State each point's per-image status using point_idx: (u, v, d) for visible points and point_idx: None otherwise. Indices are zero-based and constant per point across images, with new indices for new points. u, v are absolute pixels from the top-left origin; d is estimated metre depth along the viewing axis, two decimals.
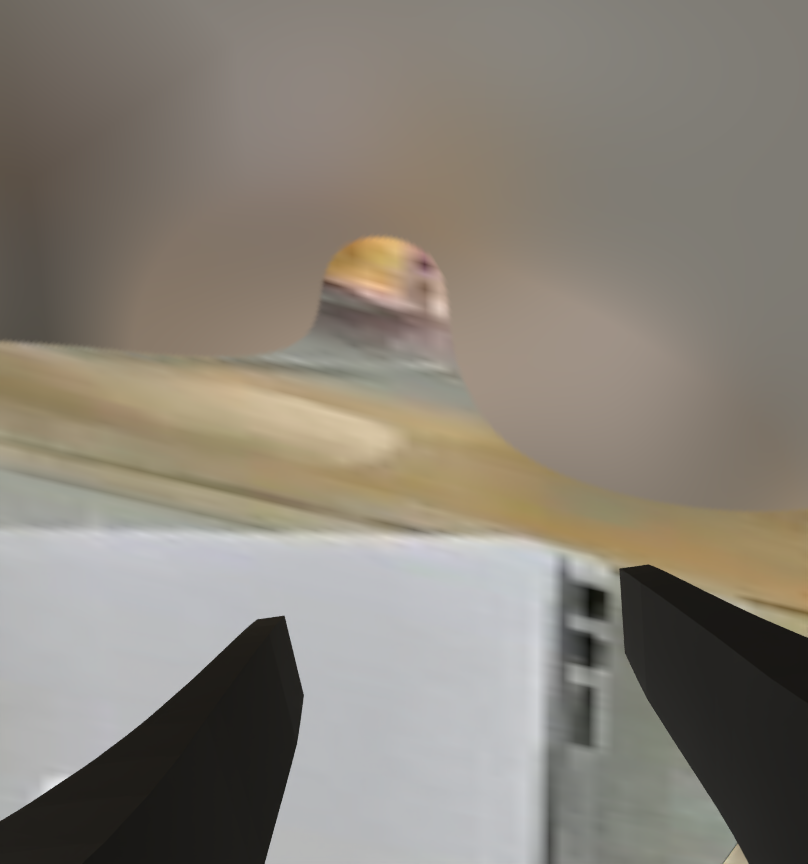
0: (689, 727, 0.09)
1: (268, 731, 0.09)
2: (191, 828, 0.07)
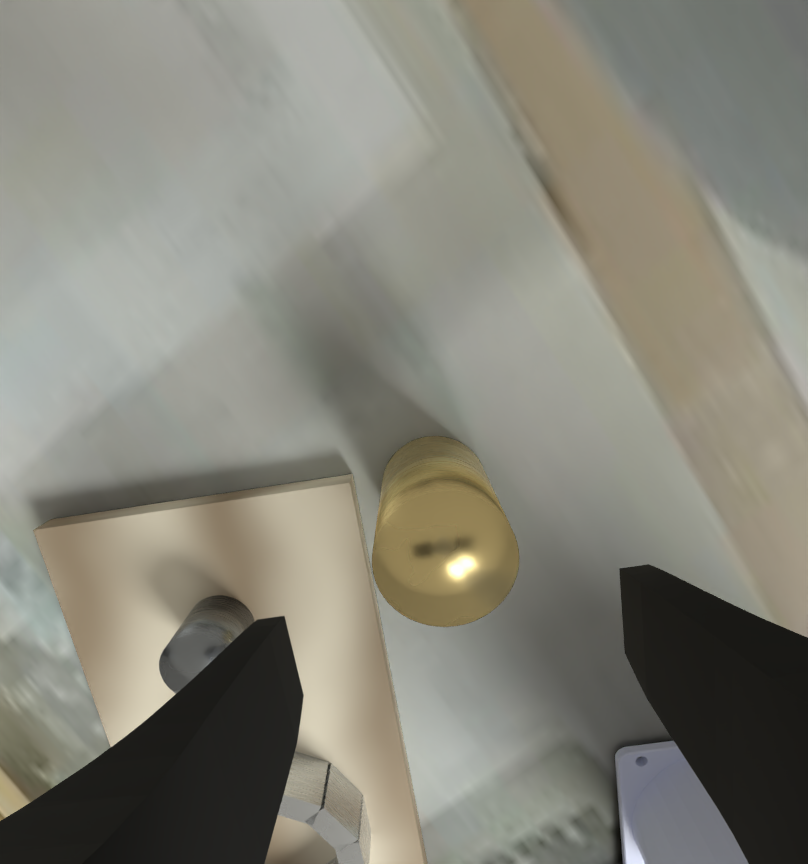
0: (688, 727, 0.09)
1: (268, 731, 0.09)
2: (191, 828, 0.07)
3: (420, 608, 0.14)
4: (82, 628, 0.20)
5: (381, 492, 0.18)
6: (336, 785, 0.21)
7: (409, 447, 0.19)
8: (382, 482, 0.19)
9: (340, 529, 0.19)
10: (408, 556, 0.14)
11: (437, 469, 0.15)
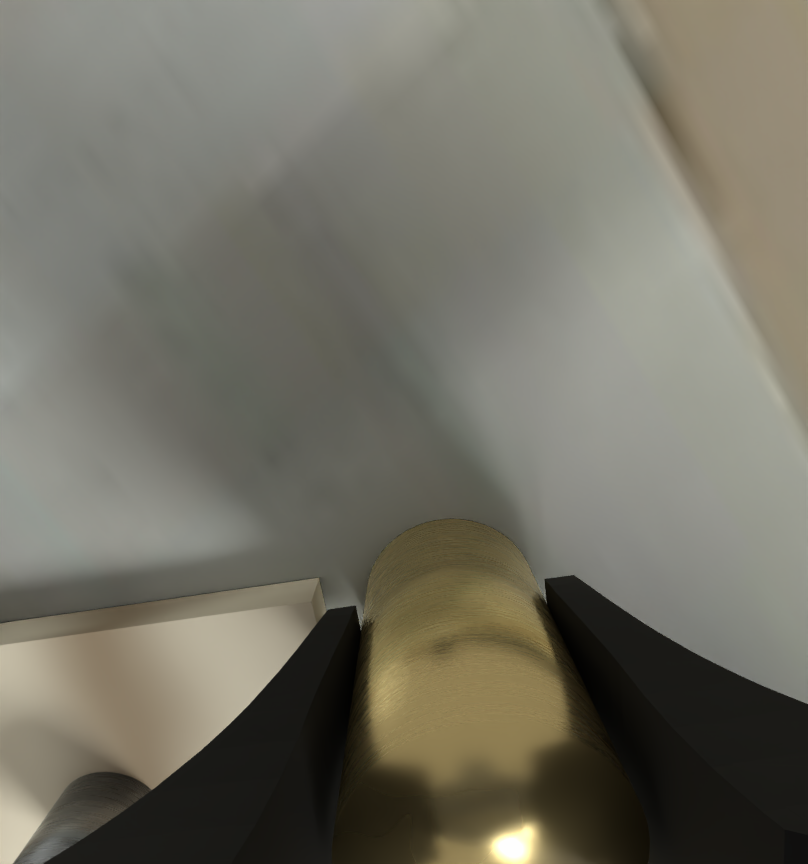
0: None
1: None
2: (308, 814, 0.07)
3: None
4: None
5: (362, 632, 0.10)
6: None
7: (410, 542, 0.11)
8: (365, 600, 0.11)
9: None
10: (409, 848, 0.06)
11: (465, 625, 0.08)
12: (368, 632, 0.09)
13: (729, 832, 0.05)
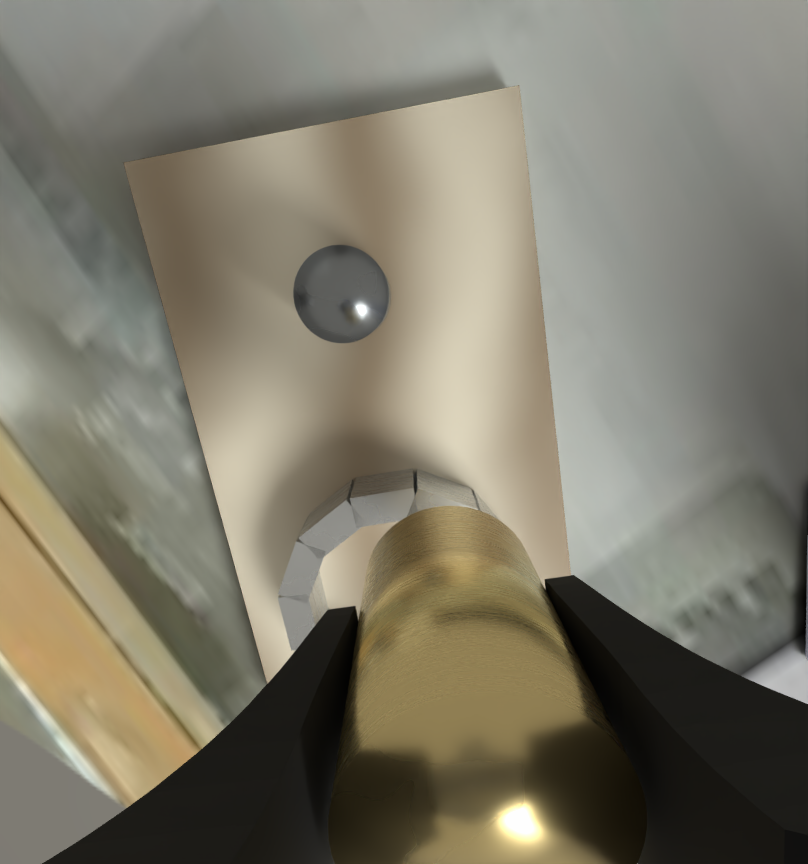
0: None
1: None
2: (308, 814, 0.07)
3: None
4: (179, 303, 0.17)
5: (363, 606, 0.10)
6: (484, 507, 0.17)
7: (417, 524, 0.11)
8: (366, 578, 0.11)
9: (503, 154, 0.15)
10: (408, 814, 0.06)
11: (476, 602, 0.08)
12: (372, 606, 0.09)
13: (729, 832, 0.05)
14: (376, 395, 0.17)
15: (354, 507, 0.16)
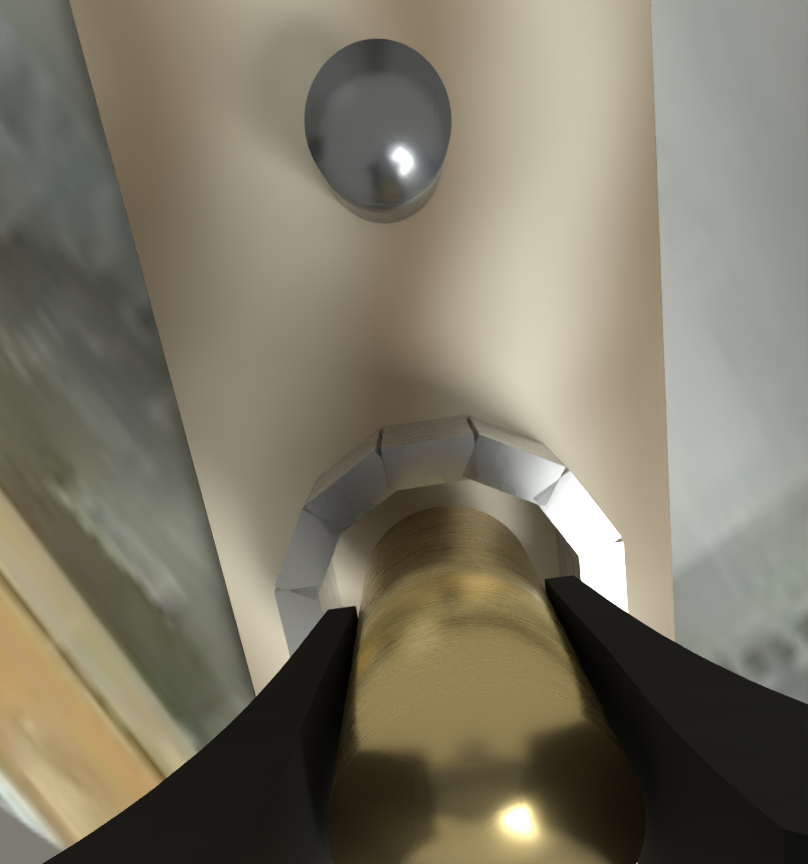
0: None
1: None
2: (308, 814, 0.07)
3: None
4: (139, 169, 0.12)
5: (363, 606, 0.10)
6: None
7: (417, 524, 0.11)
8: (366, 578, 0.11)
9: None
10: (407, 814, 0.06)
11: (476, 603, 0.08)
12: (371, 606, 0.09)
13: (729, 832, 0.05)
14: (416, 309, 0.12)
15: (386, 461, 0.11)
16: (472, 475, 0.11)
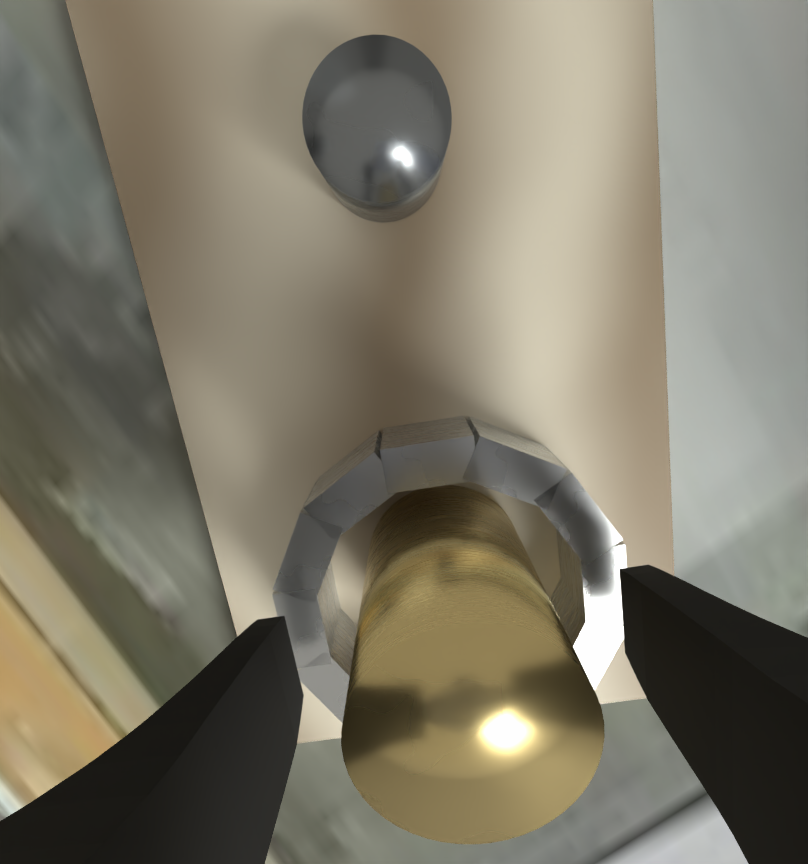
0: (689, 727, 0.09)
1: (268, 731, 0.09)
2: (191, 828, 0.07)
3: (417, 811, 0.08)
4: (135, 167, 0.11)
5: (368, 570, 0.11)
6: None
7: (416, 500, 0.13)
8: (371, 548, 0.13)
9: None
10: (407, 725, 0.08)
11: (466, 560, 0.09)
12: (376, 567, 0.11)
13: None
14: (415, 309, 0.12)
15: (386, 463, 0.11)
16: (472, 477, 0.11)
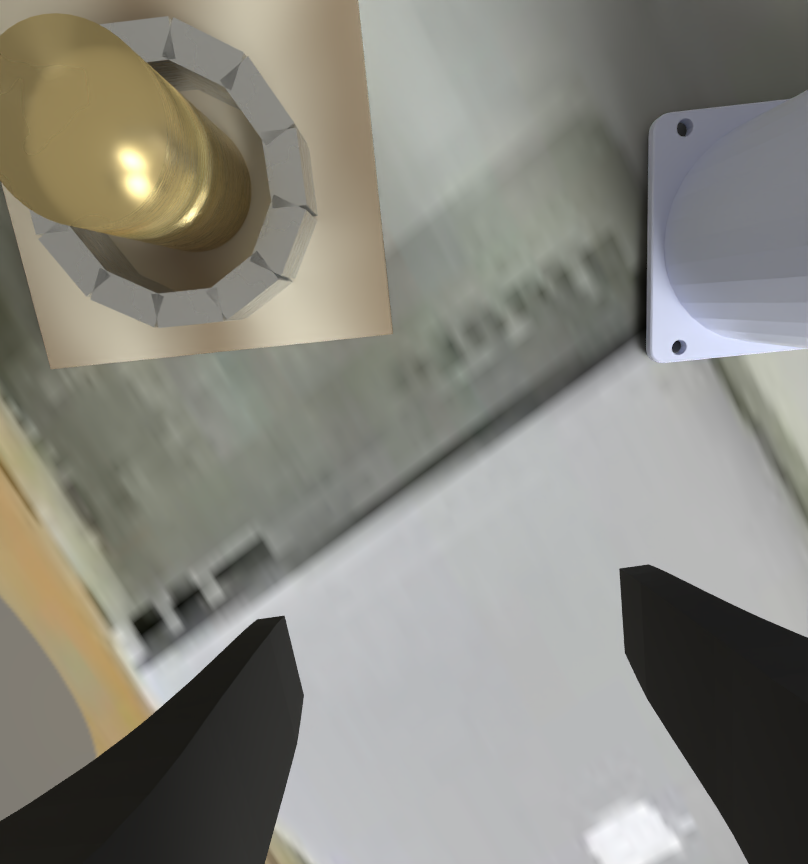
0: (689, 727, 0.09)
1: (268, 731, 0.09)
2: (191, 828, 0.07)
3: (38, 191, 0.11)
4: None
5: None
6: None
7: None
8: None
9: None
10: (21, 107, 0.11)
11: None
12: None
13: None
14: None
15: None
16: (169, 55, 0.14)
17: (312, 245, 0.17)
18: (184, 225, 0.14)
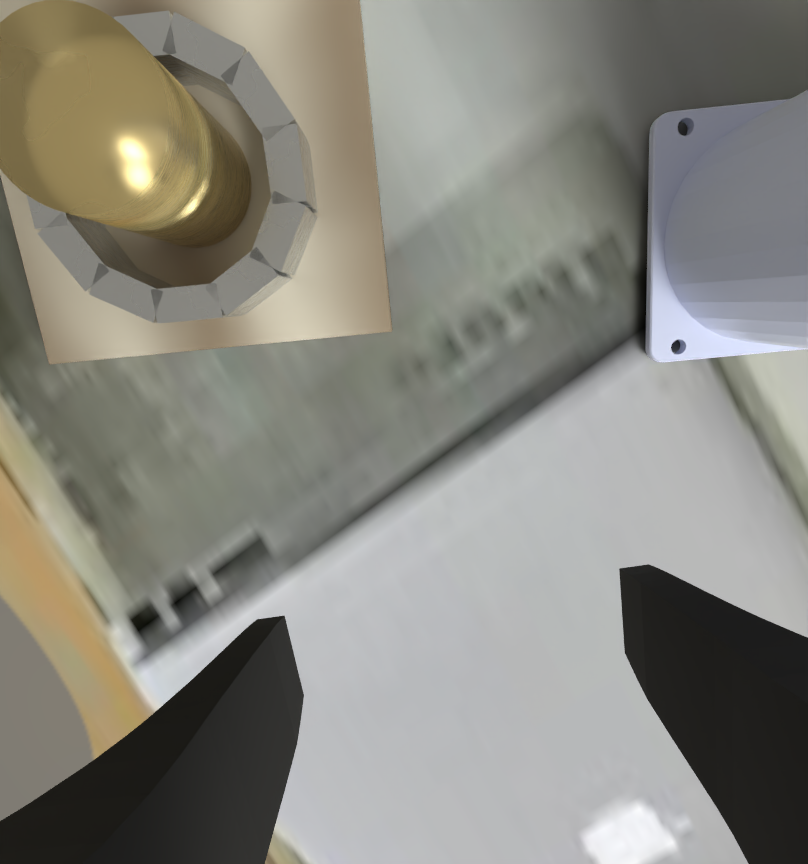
0: (689, 727, 0.09)
1: (268, 731, 0.09)
2: (191, 828, 0.07)
3: (36, 177, 0.11)
4: None
5: None
6: None
7: None
8: None
9: None
10: (22, 92, 0.11)
11: None
12: None
13: None
14: None
15: None
16: (170, 50, 0.14)
17: (312, 242, 0.17)
18: (184, 217, 0.14)
